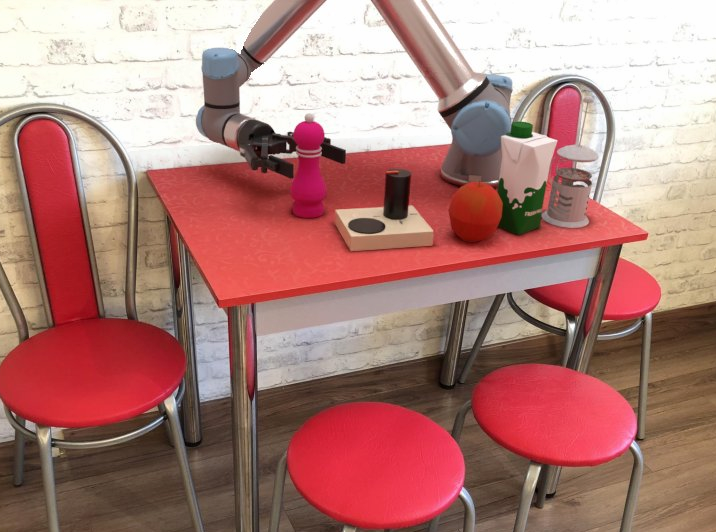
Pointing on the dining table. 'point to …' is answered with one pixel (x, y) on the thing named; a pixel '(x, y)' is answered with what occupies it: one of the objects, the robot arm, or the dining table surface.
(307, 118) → the pepper mill
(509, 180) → the milk carton
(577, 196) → the french press
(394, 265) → the dining table surface
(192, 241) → the dining table surface
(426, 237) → the hob
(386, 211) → the hob knob
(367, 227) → the burner
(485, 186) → the apple
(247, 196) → the dining table surface
